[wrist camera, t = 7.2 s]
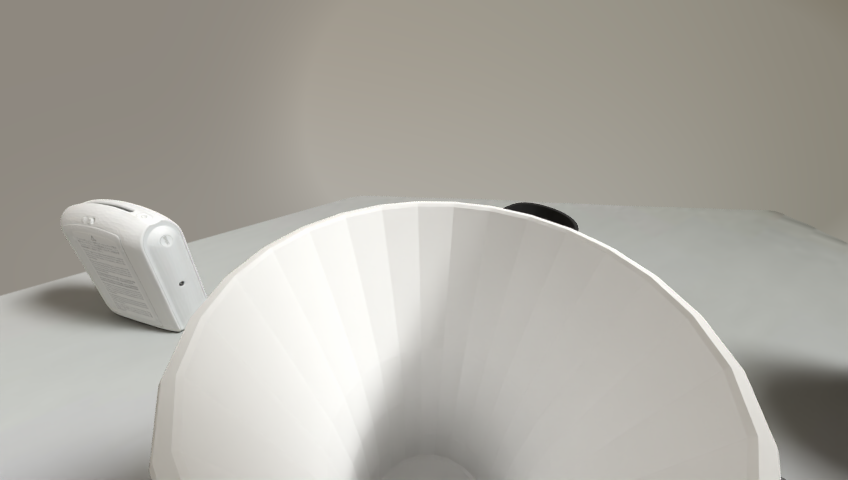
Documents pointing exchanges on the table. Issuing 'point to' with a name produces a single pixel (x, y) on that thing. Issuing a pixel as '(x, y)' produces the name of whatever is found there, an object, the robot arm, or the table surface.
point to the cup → (452, 361)
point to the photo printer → (136, 261)
